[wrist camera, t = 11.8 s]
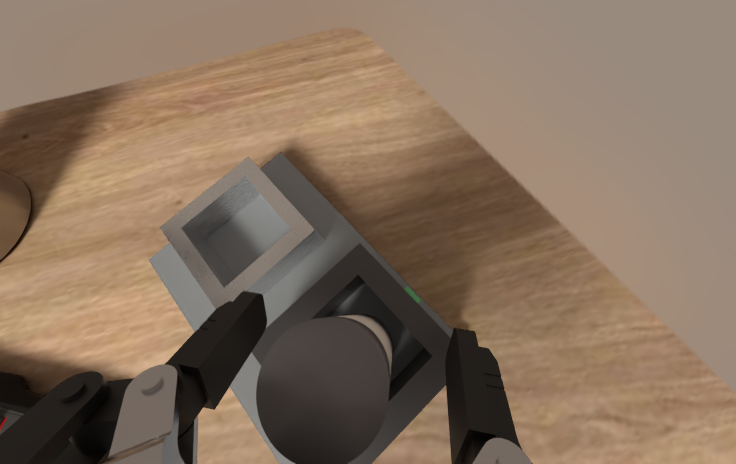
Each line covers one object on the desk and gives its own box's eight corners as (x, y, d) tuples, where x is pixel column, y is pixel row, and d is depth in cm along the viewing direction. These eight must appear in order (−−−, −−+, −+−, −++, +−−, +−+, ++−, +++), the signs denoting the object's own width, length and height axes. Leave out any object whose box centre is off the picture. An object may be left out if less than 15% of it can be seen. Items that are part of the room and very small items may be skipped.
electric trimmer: (-34, 346, 20) (-110, 352, 17) (141, 406, 18) (89, 425, 15) (-66, 402, 19) (-151, 419, 16) (115, 474, 17) (53, 510, 14)
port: (275, 339, 17) (246, 345, 14) (369, 252, 18) (363, 238, 15) (357, 450, 15) (346, 489, 12) (457, 345, 16) (474, 354, 13)
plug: (320, 344, 17) (231, 383, 8) (363, 301, 17) (327, 291, 8) (361, 393, 16) (313, 506, 7) (405, 347, 16) (417, 394, 7)
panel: (160, 262, 20) (148, 259, 19) (285, 159, 22) (280, 152, 21) (315, 499, 15) (310, 512, 14) (463, 344, 17) (468, 346, 16)
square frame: (188, 238, 20) (159, 227, 17) (265, 175, 20) (248, 156, 18) (242, 313, 18) (219, 313, 15) (325, 240, 19) (315, 229, 16)
